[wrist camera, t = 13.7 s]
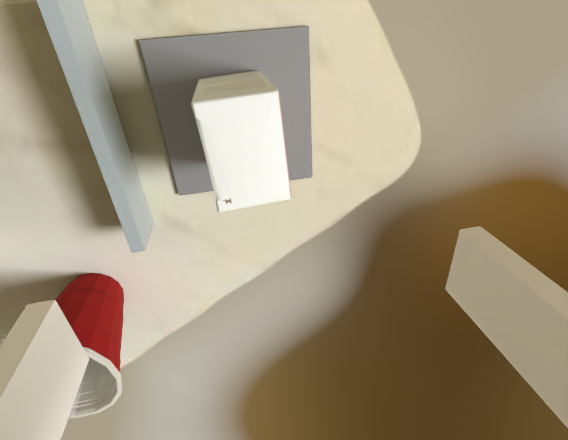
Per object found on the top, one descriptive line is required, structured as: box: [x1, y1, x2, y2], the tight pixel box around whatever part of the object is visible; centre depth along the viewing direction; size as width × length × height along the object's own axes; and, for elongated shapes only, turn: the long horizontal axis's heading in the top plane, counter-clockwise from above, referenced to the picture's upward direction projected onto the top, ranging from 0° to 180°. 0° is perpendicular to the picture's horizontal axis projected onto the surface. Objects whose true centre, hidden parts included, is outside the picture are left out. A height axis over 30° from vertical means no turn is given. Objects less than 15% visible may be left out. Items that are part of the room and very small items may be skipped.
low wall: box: [37, 0, 153, 253], centre depth 28 cm, size 1×20×5 cm, turn 4°
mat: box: [139, 26, 312, 195], centre depth 31 cm, size 14×14×1 cm
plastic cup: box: [54, 273, 124, 418], centre depth 34 cm, size 11×11×12 cm
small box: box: [191, 71, 292, 212], centre depth 27 cm, size 8×6×10 cm
